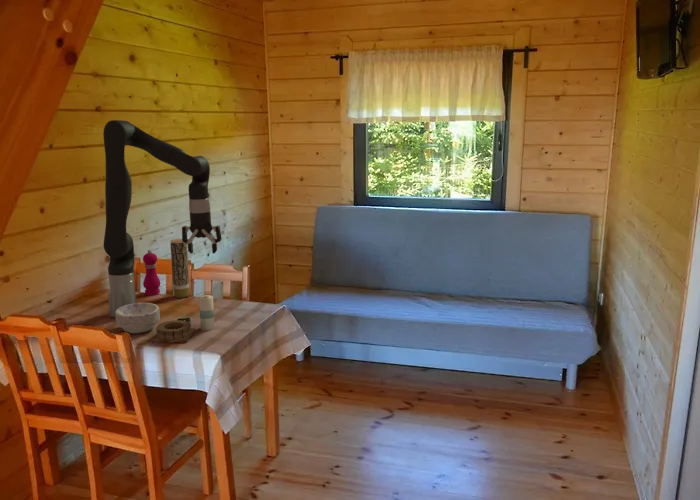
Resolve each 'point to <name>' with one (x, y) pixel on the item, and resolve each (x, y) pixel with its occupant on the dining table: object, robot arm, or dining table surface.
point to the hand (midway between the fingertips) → (202, 253)
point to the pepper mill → (151, 274)
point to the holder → (173, 332)
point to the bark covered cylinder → (180, 268)
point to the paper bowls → (137, 317)
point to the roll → (206, 312)
